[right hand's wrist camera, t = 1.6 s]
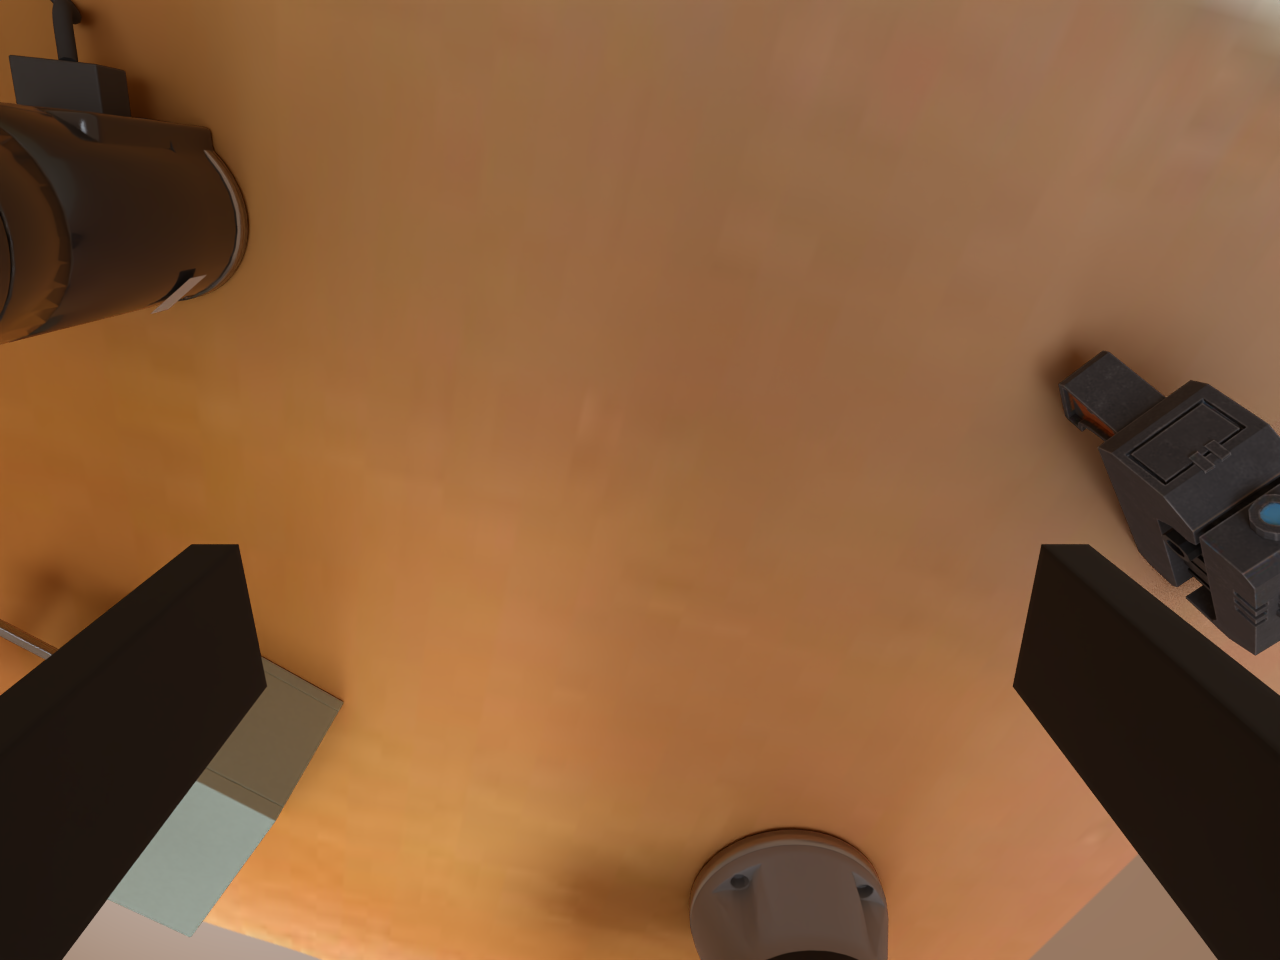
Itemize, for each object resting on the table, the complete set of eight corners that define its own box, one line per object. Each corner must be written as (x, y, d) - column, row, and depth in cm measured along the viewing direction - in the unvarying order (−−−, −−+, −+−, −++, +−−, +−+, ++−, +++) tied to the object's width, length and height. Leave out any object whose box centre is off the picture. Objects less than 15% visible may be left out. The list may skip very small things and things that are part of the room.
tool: (1116, 309, 42) (1393, 495, 31) (1157, 464, 55) (1361, 630, 45) (1019, 383, 43) (1254, 583, 33) (1082, 517, 56) (1263, 689, 46)
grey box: (101, 718, 55) (-22, 840, 45) (168, 604, 52) (52, 708, 41) (270, 804, 58) (190, 938, 48) (344, 701, 54) (275, 821, 44)
